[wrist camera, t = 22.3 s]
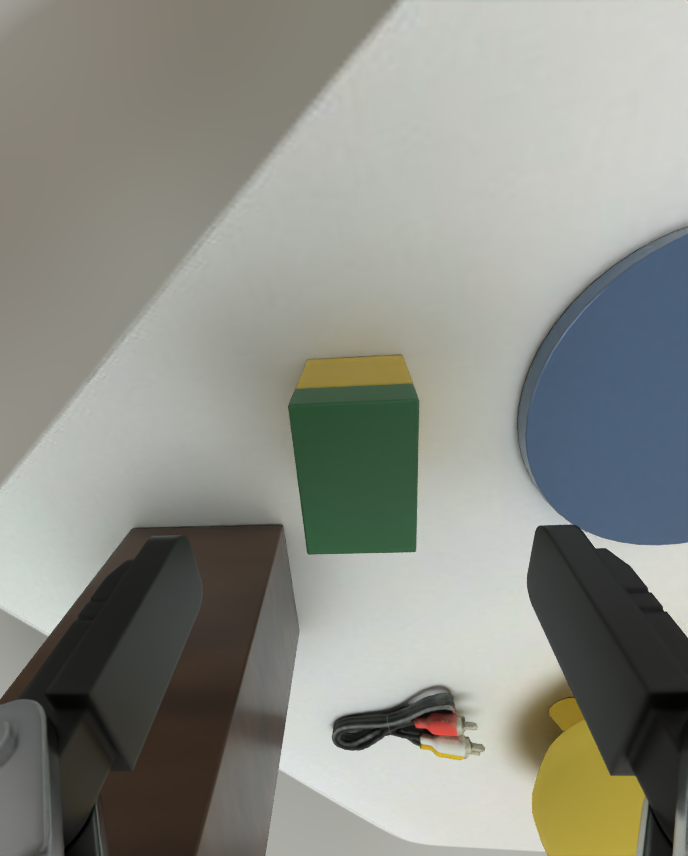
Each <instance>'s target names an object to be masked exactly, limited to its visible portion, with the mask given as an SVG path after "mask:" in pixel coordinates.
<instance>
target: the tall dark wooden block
mask: <svg viewBox="0 0 688 856" xmlns="http://www.w3.org/2000/svg"><path fill="white" fill-rule="evenodd" d="M171 535H185V536H187V537H188V539H189V541H190V544H191V547H192V550H193V554H194V557H195V560H196V563H197V567H198V570H199V573H200V577H201V580H202V585H203V596H202V603H201V607H200V610H199V612H198V615H197V617H196V620H195V622H194V624H193V627H192V629H191V632H190V634H189V637H188V639H187V641H186V644H185V646H184V649H183V651H182V653H181V656H180V658H179V661H178V663H177V666H176V668H175V670H174V673H173V675H172V678H171V680H170V682H169V685H168V687H167V690H166V692H165V695H164V697H163V699H162V702H161V704H160V707H159V709H158V712H157V714H156V716H155V719H154V721H153V724H152V726H151V728H150V731H149V733H148V736H147V738H146V741H145V743H144V745H143V748H142V750H141V753H140V755H139V757H138V760H137V762H136V765H135V767H134V770H133V771H109V773H108V776H107V778H106V780H105V782H104V784H103V787H102V789H101V791H100V794H101V797H102V801H103V808H104V816H105V824H106V831H107V839H108V846H109V854H110V856H265V854H266V847H267V841H268V834H269V828H270V821H271V814H272V808H273V801H274V795H275V788H276V781H277V775H278V768H279V762H280V755H281V749H282V742H283V736H284V729H285V722H286V716H287V709H288V703H289V696H290V689H291V683H292V676H293V670H294V663H295V657H296V650H297V643H298V637H299V627H298V620H297V614H296V607H295V601H294V594H293V588H292V581H291V575H290V569H289V562H288V556H287V549H286V543H285V536H284V530H283V526H282V525H265V526H223V527H180V528H138V529H131V530H130V532H129V533H128V534H127V536H126V537H125V538H124V540H123V541H122V542H121V543H120V545H119V546H118V547H117V549H116V550H115V551H114V552H113V554H112V555H111V556H110V558H109V559H108V560H107V562H106V563H105V564H104V565H103V567H102V568H101V569H100V571H99V572H98V573H97V575H96V576H95V577H94V578H93V580H92V581H91V582H90V584H89V585H88V586H87V587H86V589H85V590H84V591H83V593H82V594H81V595H80V597H79V598H78V599H77V600H76V602H75V603H74V604H73V606H72V607H71V608H70V610H69V611H68V612H67V613H66V615H65V616H64V617H63V619H62V620H61V621H60V623H59V624H58V625H57V626H56V628H55V629H54V630H53V632H52V633H51V634H50V635H49V637H48V638H47V640H46V641H45V642H44V643H43V645H42V646H41V647H40V648H39V650H38V651H37V652H36V654H35V655H34V656H33V658H32V659H31V660H30V662H29V663H28V664H27V666H26V667H25V668H24V669H23V670H22V672H21V673H20V674H19V676H18V677H17V678H16V680H15V681H14V682H13V684H12V685H11V686H10V687H9V689H8V690H7V691H6V693H5V694H4V695H3V696H2V698H1V699H0V705H2V704H5V703H8V702H11V701H15V700H17V699H18V698H19V696H20V695H21V694H22V693H23V691H24V690H25V689H26V687H27V686H28V685H29V683H30V682H31V680H32V679H33V678H34V676H35V675H36V673H37V672H38V671H39V669H40V668H41V666H42V665H43V664H44V662H45V661H46V660H47V658H48V657H49V655H50V654H51V653H52V651H53V650H54V648H55V647H56V646H57V644H58V643H59V641H60V640H61V639H62V637H63V636H64V635H65V633H66V632H67V630H68V629H69V628H70V626H71V625H72V623H73V622H74V621H75V620H78V615H79V614H80V612H81V611H82V609H83V608H84V607H85V605H86V604H87V603H88V602H90V601H91V597H92V596H93V594H94V593H95V591H96V590H97V589H98V587H99V586H100V584H101V583H102V582H103V580H104V579H105V578H106V577H107V576H108V575H109V574H110V573H111V572H113V571H114V570H115V569H116V568H118V567H119V566H120V565H121V564H122V563H124V562H125V561H126V560H133V559H135V557H136V556H137V554H138V553H139V552H140V550H141V549H142V547H143V546H144V544H145V543H146V541H147V540H148V539H149V538H150V537H152V536H171Z"/></svg>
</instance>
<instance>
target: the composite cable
mask: <svg viewBox="0 0 688 856" xmlns="http://www.w3.org/2000/svg"><path fill="white" fill-rule="evenodd" d="M455 712H456V709H455V705H454V702H453V697H452V696H451V695H450V694H447V693H442V694H436V695H433V696H428V697H425V698H423V699H421V700H419V701H417V702H415V703H413V704H411V705H409V706H407V707H406V708H403V709H401V710H399V711H396V712H393V713H389V714H384V715H367V716H353V717H346V718H343V719H340V720H338V721H337V722H336V723H335V724H334V726H333V729H334V730H333V734H332V740H333V743H334V744H335V745H336V746H337V747H340V748H342V749H344V750H352V751H353V750H358V751H359V750H364V749H365V748H368V747H370V746H371V745H373V744H375V743H376V742H377V741H379V740H381V739H382V738H383V737H384V736H387V735H394V736H398V737H401V738H406V739H408V740H409V741H411V742H412V743H413V744H415V745H418V746H420V748H421V749H425V750H431V751H432V752H434V754H436V755H437V756H439V757H443V758H449V759H456V760H462V759H466V758H467V757H468V755H469V754H473V755H478V756H479V755H480V752H483V751H484V750H485V747H484V746H483V745H482V744H476V743H472V742H471V741H470V739H469V737H465V736H464V734H463V733H464V731H465V730H467V729H468V730H477V724H476V723H472V722H465V717H464V716H462V717H461V716H457V715H456V714H455ZM361 729H363V730H361ZM353 730H361V731H359V732H356V733H347V732H349V731H353Z"/></svg>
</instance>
